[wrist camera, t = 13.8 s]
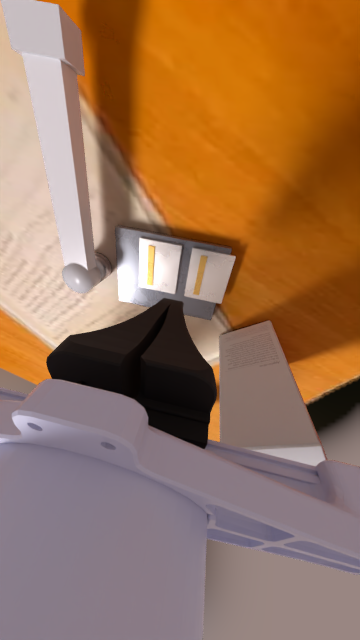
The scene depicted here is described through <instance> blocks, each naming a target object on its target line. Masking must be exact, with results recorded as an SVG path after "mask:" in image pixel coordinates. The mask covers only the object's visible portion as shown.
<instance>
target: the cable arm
mask: <svg viewBox="0 0 360 640" xmlns="http://www.w3.org/2000/svg"><path fill="white" fill-rule="evenodd" d="M1 3H2V7H3V12H4V16H5V21H6V25H7V30H8V35H9V39H10V44H11V48H12V49H13V50H14V51H15V52H17V53H18V54H20V55H21V56H23V61H24V65H25V70H26V75H27V80H28V85H29V90H30V95H31V100H32V105H33V110H34V115H35V120H36V125H37V130H38V135H39V140H40V145H41V150H42V155H43V160H44V165H45V170H46V175H47V180H48V185H49V190H50V195H51V200H52V204H53V209H54V214H55V219H56V224H57V229H58V234H59V239H60V244H61V249H62V254H63V259H64V264H65V267H64V269H63V271H62V276H63V279H64V281H65V283H66V284H67V286H68V287H69V288H71V289H72V290H73V291H75V292H78V293H86V292H88V291H89V290H90V289H92V288H93V287H94V286H96V285H97V284H98V283H99V282H100V280H101V274H100V271H99V269H98V268H97V266H96V262H95V252H94V242H93V232H92V222H91V212H90V203H89V193H88V183H87V173H86V163H85V153H84V143H83V133H82V123H81V113H80V103H79V93H78V83H77V75H82V76H85V72H84V60H83V48H82V36H81V30H80V29H79V28H78V27H77V26H76V25H75V23H74V22H73V21H72V20H71V19H70V18H69V16H68V15H67V14H66V13H65V12H64V11H63V9H62V8H61V7H60V6H59V5H58V4H52V3H46V2H41V1H35V0H1Z"/></svg>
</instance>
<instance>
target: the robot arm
mask: <svg viewBox="0 0 360 640" xmlns="http://www.w3.org/2000/svg"><path fill="white" fill-rule="evenodd" d="M183 305H184V303H183V302H182V301H177V300H172V299H168V298H163V299H162V300H160V301H159V302H158V303H156V304H155V305H153V306H152V307H150V308H149V309H147V310H146V311H144V312H143V313H141V314H139V315H138V316H136V317H134V318H132V319H129V320H127V321H125V322H122V323H120V324H117V325H114V326H111V327H108V328H104V329H101V330H96V331H92V332H87V333H81V334H76V335H70V336H69V337H67V338H66V339H65V340H64V341H63V342H62V343H61V344H60V345H59V346H58V347H57V348H56V349H55V350H54V351H53V352H52V353H51V354H50V355H49V356H48V357H47V362H46V363H47V367H48V370H49V373H50V375H51V377H52V379H46V380H44V381H43V382H41V383H39V384H38V385H37V387H36V388H35V389H34V390H33V391H32V392H31V393H30V394H25V393H21V392H17V391H14V390H9V389H6V388H1V387H0V640H203V618H204V594H205V568H206V567H205V566H206V541H207V539H210V540H214V541H219V542H224V543H227V544H232V545H236V546H241V547H245V548H249V549H254V550H258V551H263V552H267V553H272V554H276V555H280V556H285V557H289V558H293V559H298V560H302V561H306V562H310V563H313V564H317V565H321V566H325V567H329V568H333V569H336V570H340V571H343V572H347V573H351V574H354V575H360V467H359V466H355V465H351V464H347V463H343V462H339V461H335V460H324V461H321V462H320V463H319V464H318V465H317V466H312V465H308V464H304V463H300V462H296V461H292V460H288V459H284V458H280V457H276V456H272V455H268V454H264V453H260V452H256V451H252V450H248V449H244V448H240V447H236V446H232V445H228V444H224V443H220V442H216V441H212V440H208V424H209V423H210V412H211V410H212V407H213V405H214V403H215V401H216V396H217V389H216V382H215V377H214V373H213V369H212V367H211V366H210V365H209V364H208V363H207V362H206V360H205V359H204V358H203V357H202V355H201V354H200V353H199V351H198V349H197V348H196V346H195V345H194V343H193V341H192V339H191V337H190V335H189V332H188V329H187V326H186V323H185V319H184V314H183Z"/></svg>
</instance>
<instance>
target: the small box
mask: <svg viewBox="0 0 360 640" xmlns="http://www.w3.org/2000/svg"><path fill="white" fill-rule="evenodd" d="M219 357H220V375H219V377H220V443H224V444H228V445H232V446H236V447H240V448H244V449H248V450H252V451H256V452H260V453H264V454H268V455H272V456H276V457H280V458H284V459H288V460H292V461H296V462H300V463H304V464H308V465H312V466H317V465H318V464H319V463H320V462H321V461H324V460H327V458H326V454H325V451H324V449H323V446H322V444H321V442H320V439H319V437H318V435H317V432H316V430H315V428H314V425H313V423H312V421H311V418H310V415H309V413H308V411H307V408H306V406H305V403H304V401H303V398H302V396H301V394H300V391H299V389H298V386H297V384H296V381H295V379H294V377H293V374H292V372H291V369H290V367H289V364H288V362H287V360H286V357H285V355H284V352H283V350H282V347H281V345H280V342H279V340H278V337H277V335H276V332H275V330H274V327H273V325H272V322H271V321H269V320H268V321H265V322H262V323H258V324H255V325H252V326H249V327H246V328H242V329H239V330H236V331H233V332H229V333H226V334H223V335H220V336H219Z"/></svg>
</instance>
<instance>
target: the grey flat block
mask: <svg viewBox="0 0 360 640" xmlns="http://www.w3.org/2000/svg"><path fill="white" fill-rule="evenodd" d="M115 236H116V253H117V270H118V286H119V301H124V302H128V303H133V304H138V305H142V306H147V307H152V306H153V305H155V304H156V303H158V302H159V301H160V300H162V299H163V298H168V299H172V300H177V301H182V302H183V303H184V305H183V314H184V315H189V316H193V317H198V318H203V319H207V320H211V318H212V315H213V312H214V308H215V305H216V303H219V304H221V303H222V299H223V296H224V293H225V290H226V287H227V284H228V280H229V277H230V274H231V271H232V268H233V264H234V261H235V258H236V256H235V255H230V254H231V250H232V247H230V246H225V245H219V244H214V243H209V242H203V241H198V240H193V239H188V238H182V237H177V236H172V235H167V234H161V233H156V232H151V231H146V230H140V229H135V228H130V227H125V226H119V225H118V226H115ZM95 262H96V266H97V268H98V269H99V271H100V274H101V280H100V282H101V281H102V280H104V279H105V278H106V277H107V276H109V275H110V273H111V264H110V262H109V260H108V259H107V258H106V257H105V256H104V255H102V254H100V253H95ZM100 282H99V283H100Z"/></svg>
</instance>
